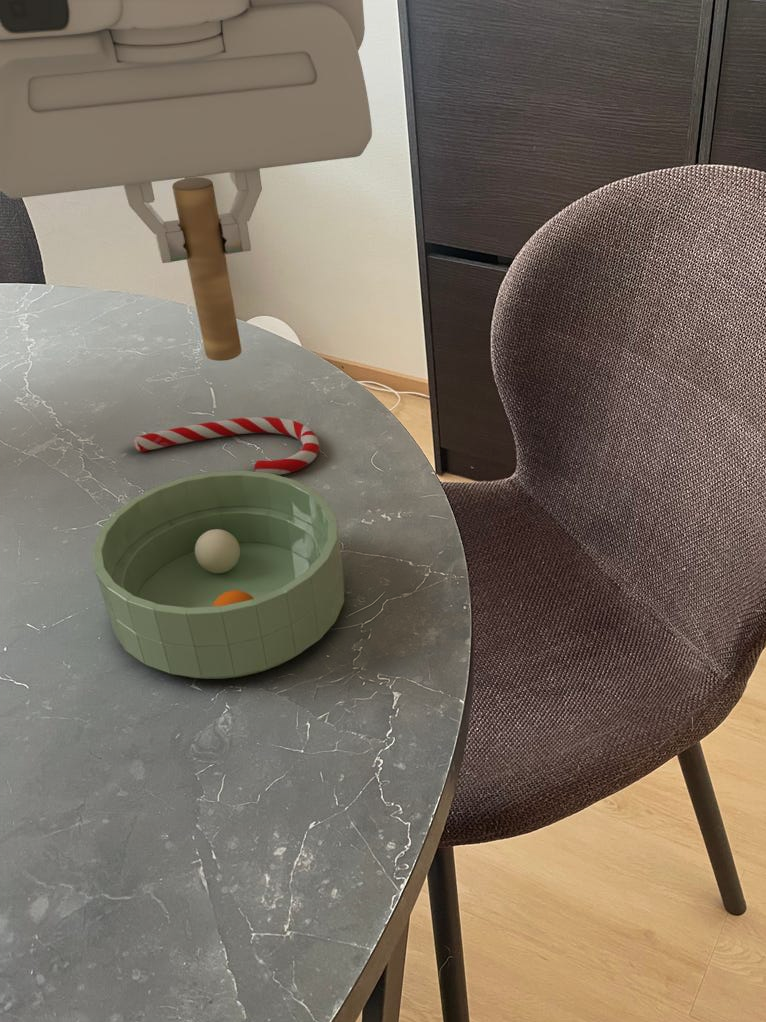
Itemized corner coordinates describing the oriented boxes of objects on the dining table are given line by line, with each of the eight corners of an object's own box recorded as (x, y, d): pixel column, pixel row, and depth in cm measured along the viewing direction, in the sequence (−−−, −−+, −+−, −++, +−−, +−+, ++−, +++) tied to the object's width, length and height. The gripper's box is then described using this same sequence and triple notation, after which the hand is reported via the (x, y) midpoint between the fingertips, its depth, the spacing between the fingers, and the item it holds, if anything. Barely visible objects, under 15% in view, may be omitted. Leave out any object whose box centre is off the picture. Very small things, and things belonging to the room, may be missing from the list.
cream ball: (202, 586, 71) (194, 550, 69) (195, 560, 73) (187, 525, 71) (246, 576, 71) (240, 541, 69) (238, 551, 73) (232, 516, 71)
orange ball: (219, 651, 66) (211, 615, 64) (212, 622, 68) (204, 586, 66) (267, 640, 66) (260, 604, 64) (257, 612, 68) (251, 576, 66)
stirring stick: (208, 363, 63) (175, 192, 56) (202, 348, 64) (169, 179, 58) (244, 357, 63) (215, 187, 57) (238, 342, 65) (209, 174, 58)
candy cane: (140, 416, 86) (321, 413, 87) (143, 430, 87) (323, 426, 88) (120, 467, 81) (314, 463, 81) (124, 481, 81) (316, 477, 82)
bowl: (127, 712, 63) (104, 637, 59) (105, 566, 73) (83, 495, 69) (371, 654, 67) (364, 580, 63) (316, 523, 77) (307, 454, 73)
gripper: (343, -53, 56) (364, 212, 65) (-68, -25, 50) (19, 259, 59) (376, -34, 51) (394, 248, 60) (-71, -1, 46) (23, 302, 55)
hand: (205, 254), depth 60 cm, fingers closed on stirring stick, 2 cm apart
